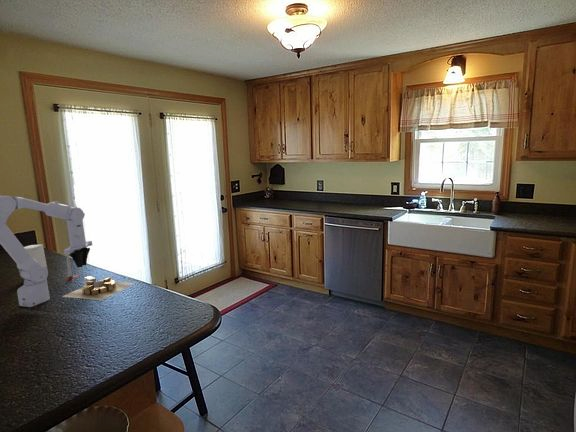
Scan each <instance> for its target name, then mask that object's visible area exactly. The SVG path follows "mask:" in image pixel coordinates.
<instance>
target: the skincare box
mask: <svg viewBox="0 0 576 432" xmlns="http://www.w3.org/2000/svg"><path fill="white" fill-rule="evenodd" d="M23 247H24V248H25V249H26V251H27V252H28V253H29V254H30V256H31V257H32V258H33V259H34V260H36V261H37V262H38V263H39V264H40V265H41V266H43V267H45V268H46V269H47V270H48V265H47V259H46V255H45V249H44V244H31V245H26V246H23ZM24 280H25V279H24V278H23V281H24Z"/></svg>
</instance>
